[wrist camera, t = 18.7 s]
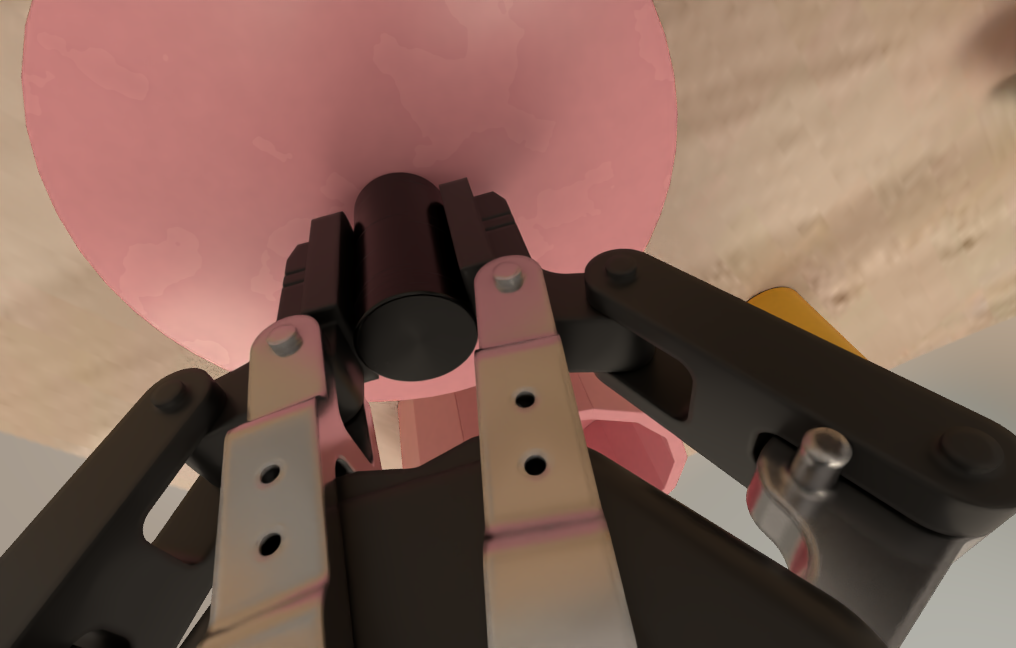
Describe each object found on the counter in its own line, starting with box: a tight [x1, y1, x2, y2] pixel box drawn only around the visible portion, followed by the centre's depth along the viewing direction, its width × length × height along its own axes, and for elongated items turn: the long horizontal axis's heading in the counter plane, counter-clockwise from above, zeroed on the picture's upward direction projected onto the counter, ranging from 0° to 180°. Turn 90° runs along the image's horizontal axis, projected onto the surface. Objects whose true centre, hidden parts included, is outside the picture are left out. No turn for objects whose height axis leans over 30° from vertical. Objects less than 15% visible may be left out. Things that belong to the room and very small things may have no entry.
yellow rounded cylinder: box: [748, 287, 867, 360], centre depth 27 cm, size 5×5×11 cm
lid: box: [21, 0, 678, 402], centre depth 12 cm, size 15×15×6 cm
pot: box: [398, 372, 687, 495], centre depth 28 cm, size 14×14×8 cm
